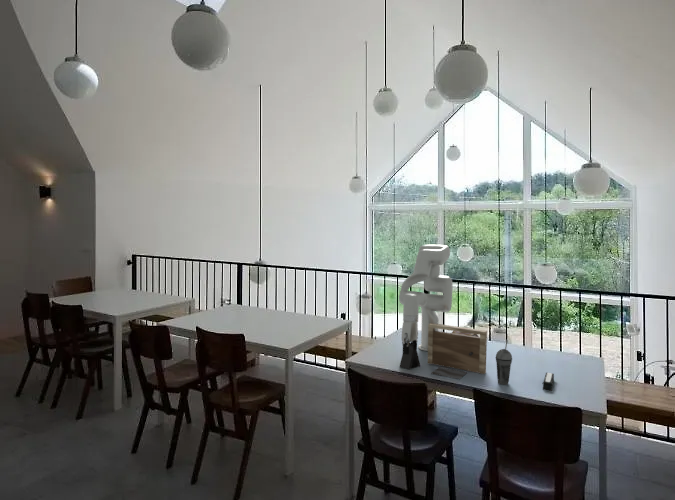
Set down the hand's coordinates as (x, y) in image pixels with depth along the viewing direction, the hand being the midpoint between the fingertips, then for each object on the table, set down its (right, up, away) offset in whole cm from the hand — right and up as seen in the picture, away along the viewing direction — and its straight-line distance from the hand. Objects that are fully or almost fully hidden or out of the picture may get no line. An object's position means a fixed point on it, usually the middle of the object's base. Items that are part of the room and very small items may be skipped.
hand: (409, 351), depth 230 cm
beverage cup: (+39, -10, -22) cm, 46 cm away
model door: (+19, -8, -6) cm, 22 cm away
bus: (+61, -10, -22) cm, 65 cm away
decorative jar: (+30, -7, +9) cm, 32 cm away
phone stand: (0, -8, +1) cm, 8 cm away
